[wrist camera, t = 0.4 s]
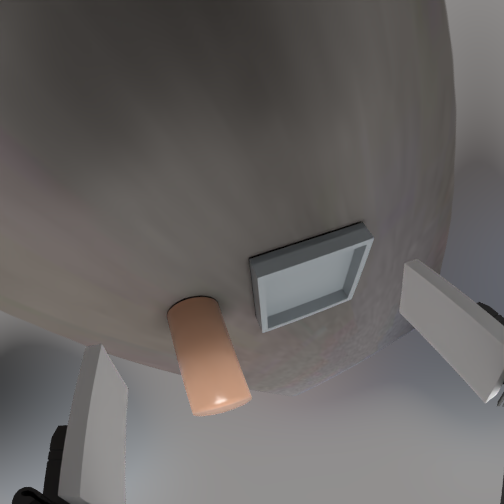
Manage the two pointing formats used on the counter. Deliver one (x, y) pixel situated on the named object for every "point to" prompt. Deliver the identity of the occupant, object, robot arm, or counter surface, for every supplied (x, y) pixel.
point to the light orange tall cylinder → (206, 357)
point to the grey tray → (308, 276)
